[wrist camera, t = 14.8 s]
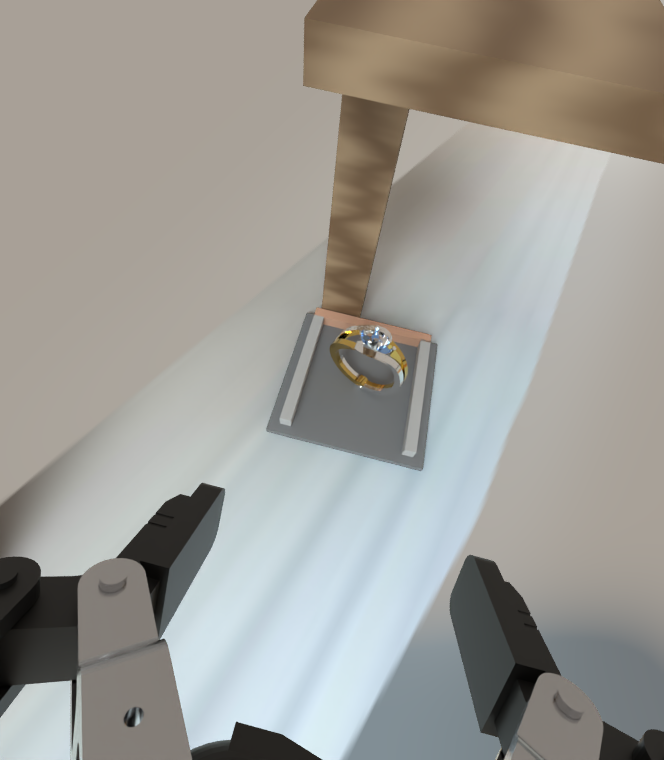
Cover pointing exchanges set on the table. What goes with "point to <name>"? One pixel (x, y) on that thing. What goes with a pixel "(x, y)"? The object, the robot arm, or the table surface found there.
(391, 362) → the ring
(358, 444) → the seat
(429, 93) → the shelf
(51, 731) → the table surface
